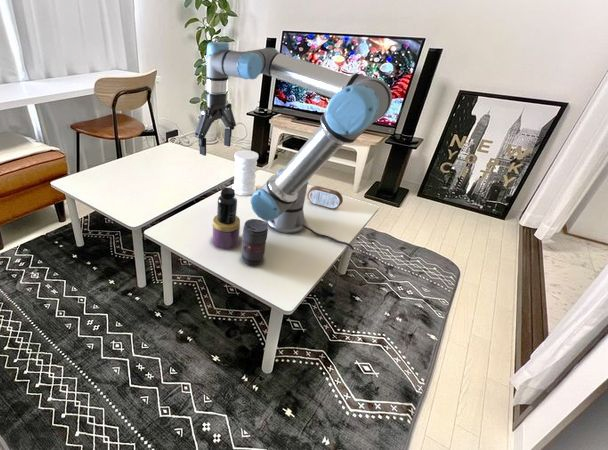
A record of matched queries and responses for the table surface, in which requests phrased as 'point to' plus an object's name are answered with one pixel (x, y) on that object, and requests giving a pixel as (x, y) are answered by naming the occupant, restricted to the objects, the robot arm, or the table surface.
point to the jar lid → (226, 225)
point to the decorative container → (245, 172)
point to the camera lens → (254, 241)
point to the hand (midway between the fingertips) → (215, 150)
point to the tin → (325, 197)
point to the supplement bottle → (227, 206)
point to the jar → (226, 238)
